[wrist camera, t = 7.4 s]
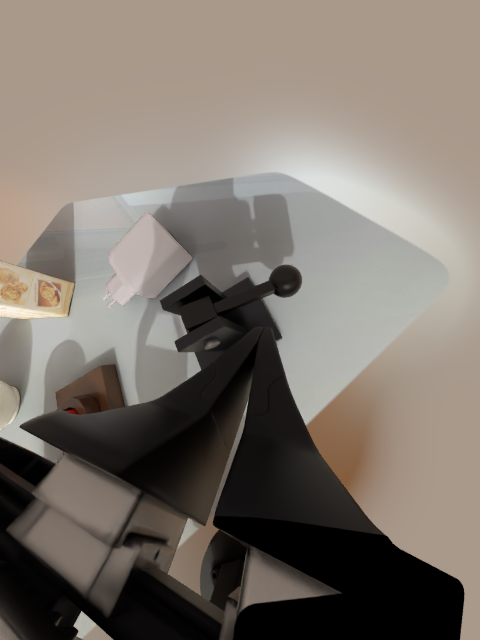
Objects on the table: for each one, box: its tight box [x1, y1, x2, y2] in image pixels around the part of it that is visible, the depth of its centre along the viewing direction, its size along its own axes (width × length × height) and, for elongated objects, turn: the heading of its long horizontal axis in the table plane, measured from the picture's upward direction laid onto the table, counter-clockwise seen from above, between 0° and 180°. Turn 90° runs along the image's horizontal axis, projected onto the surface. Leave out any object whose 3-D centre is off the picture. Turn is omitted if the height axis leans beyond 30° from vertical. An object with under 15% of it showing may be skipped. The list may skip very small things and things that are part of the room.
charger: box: [103, 211, 193, 308], centre depth 27 cm, size 5×9×15 cm
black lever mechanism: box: [160, 275, 282, 370], centre depth 19 cm, size 11×9×10 cm
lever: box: [178, 265, 302, 332], centre depth 16 cm, size 12×3×3 cm, turn 116°
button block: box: [56, 364, 125, 456], centre depth 25 cm, size 12×10×4 cm
